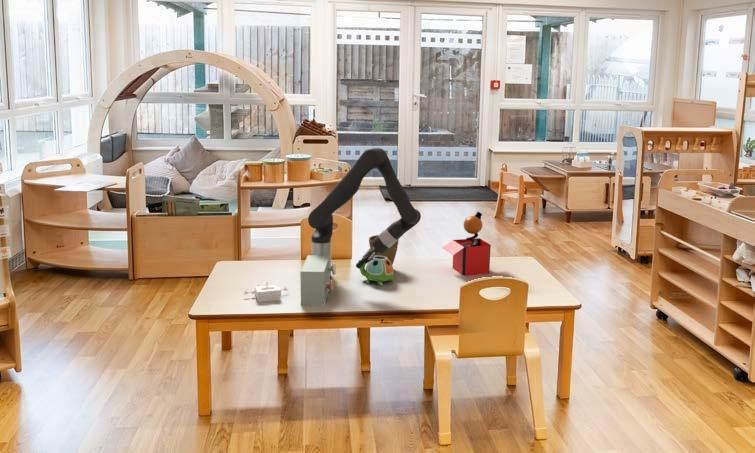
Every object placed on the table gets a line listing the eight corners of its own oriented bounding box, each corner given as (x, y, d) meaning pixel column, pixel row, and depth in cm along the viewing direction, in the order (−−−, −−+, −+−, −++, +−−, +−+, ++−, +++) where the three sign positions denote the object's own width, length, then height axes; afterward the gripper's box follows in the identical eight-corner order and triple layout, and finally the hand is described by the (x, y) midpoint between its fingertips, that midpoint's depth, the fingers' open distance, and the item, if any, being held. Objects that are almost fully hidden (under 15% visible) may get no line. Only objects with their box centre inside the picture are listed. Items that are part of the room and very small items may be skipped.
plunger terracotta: (302, 293, 332) (302, 281, 331) (303, 289, 338) (303, 277, 336) (332, 294, 332) (332, 281, 331) (333, 290, 337) (333, 278, 336)
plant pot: (362, 268, 384) (362, 237, 380) (386, 263, 393) (386, 233, 389) (380, 275, 372) (380, 243, 369) (404, 270, 381) (404, 239, 377)
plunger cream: (305, 275, 343) (305, 263, 342) (307, 272, 348) (306, 260, 347) (334, 276, 342) (334, 264, 341) (336, 272, 348) (336, 260, 347)
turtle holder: (364, 274, 373) (364, 251, 371) (397, 280, 365) (398, 256, 362) (352, 281, 363) (352, 257, 360) (385, 287, 354) (386, 262, 352)
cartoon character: (284, 294, 352) (292, 299, 336) (241, 298, 345) (246, 303, 330) (284, 277, 351) (291, 281, 336) (240, 281, 345) (245, 285, 329)
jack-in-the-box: (487, 264, 393) (490, 207, 386) (500, 272, 379) (503, 213, 372) (440, 268, 386) (442, 209, 379) (452, 276, 372) (454, 216, 365)
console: (300, 304, 329) (300, 271, 326) (308, 286, 354) (307, 255, 351) (324, 305, 329) (323, 271, 325) (329, 286, 354) (329, 255, 351)
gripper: (379, 231, 347) (352, 257, 350) (378, 238, 334) (350, 265, 337) (390, 243, 348) (363, 268, 351) (390, 250, 335) (362, 277, 338)
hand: (357, 266), depth 344 cm, fingers closed
